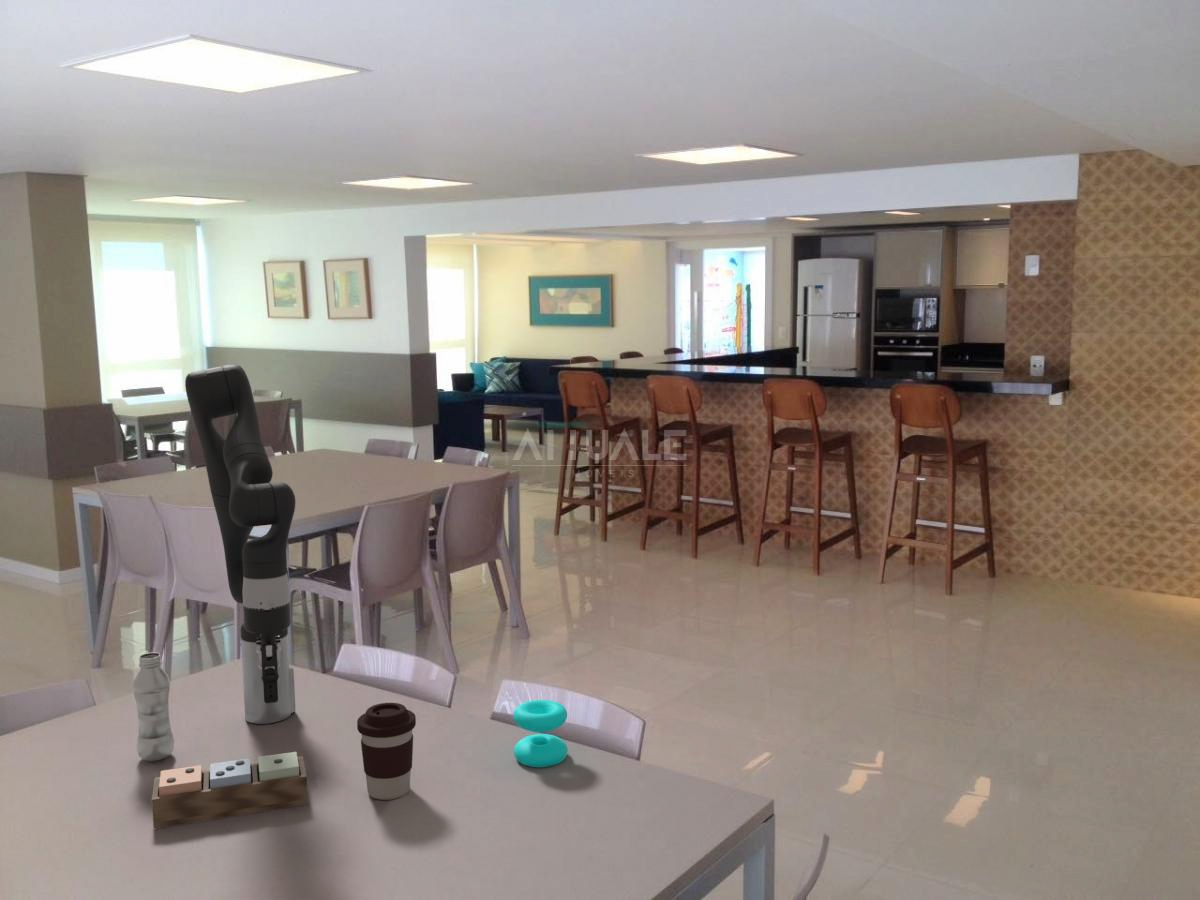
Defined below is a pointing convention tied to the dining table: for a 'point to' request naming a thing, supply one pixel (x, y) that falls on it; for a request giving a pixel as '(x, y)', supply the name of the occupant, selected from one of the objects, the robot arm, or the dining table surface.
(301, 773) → the dice tray set
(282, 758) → the button one
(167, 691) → the plastic bottle
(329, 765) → the dining table surface
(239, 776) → the button three
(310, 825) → the dining table surface
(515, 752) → the donuts
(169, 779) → the button two
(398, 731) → the coffee cup
